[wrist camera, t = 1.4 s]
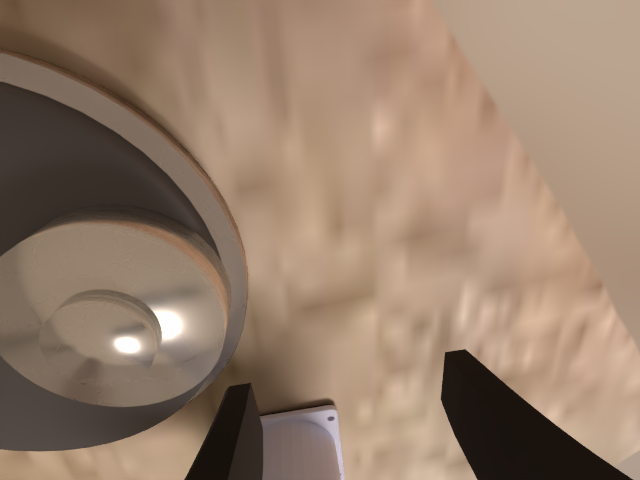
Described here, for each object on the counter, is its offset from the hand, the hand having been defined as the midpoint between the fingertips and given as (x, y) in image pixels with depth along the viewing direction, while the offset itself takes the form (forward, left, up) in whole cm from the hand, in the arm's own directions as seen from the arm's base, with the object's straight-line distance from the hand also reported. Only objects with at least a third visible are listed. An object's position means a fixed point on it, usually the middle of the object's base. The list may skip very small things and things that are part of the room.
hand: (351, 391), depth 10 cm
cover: (0, +9, -7) cm, 12 cm away
